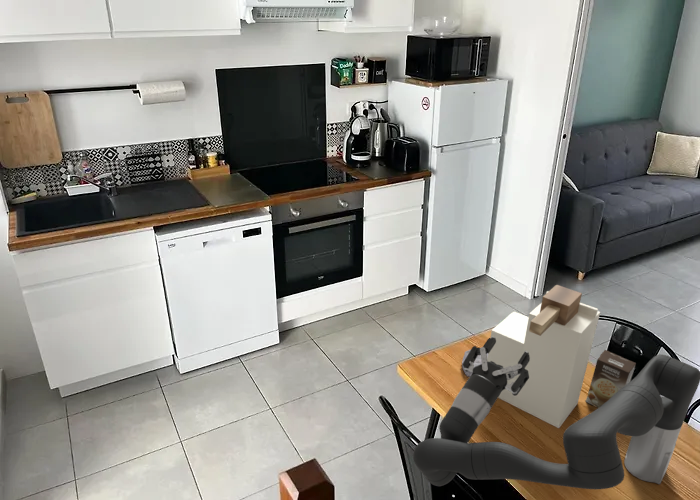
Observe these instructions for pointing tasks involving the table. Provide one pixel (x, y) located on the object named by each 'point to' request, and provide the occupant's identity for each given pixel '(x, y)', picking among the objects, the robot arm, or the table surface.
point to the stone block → (476, 363)
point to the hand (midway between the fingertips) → (510, 345)
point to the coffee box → (609, 377)
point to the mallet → (556, 309)
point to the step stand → (546, 361)
